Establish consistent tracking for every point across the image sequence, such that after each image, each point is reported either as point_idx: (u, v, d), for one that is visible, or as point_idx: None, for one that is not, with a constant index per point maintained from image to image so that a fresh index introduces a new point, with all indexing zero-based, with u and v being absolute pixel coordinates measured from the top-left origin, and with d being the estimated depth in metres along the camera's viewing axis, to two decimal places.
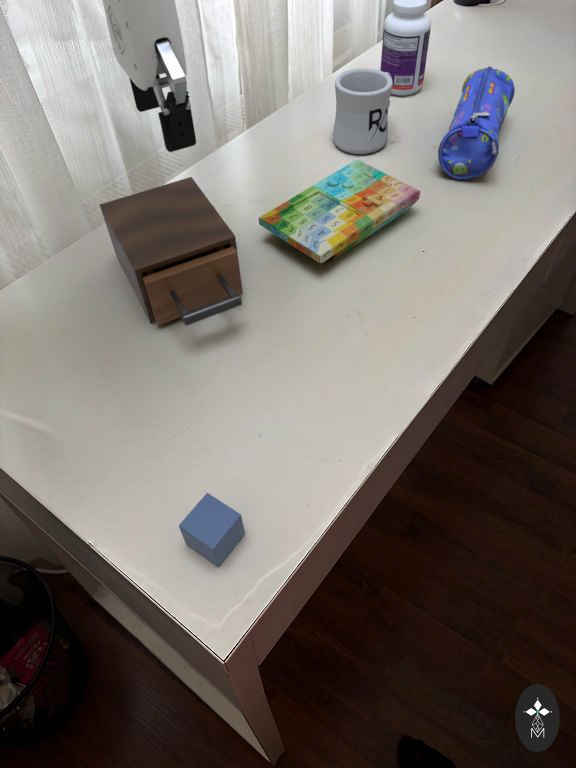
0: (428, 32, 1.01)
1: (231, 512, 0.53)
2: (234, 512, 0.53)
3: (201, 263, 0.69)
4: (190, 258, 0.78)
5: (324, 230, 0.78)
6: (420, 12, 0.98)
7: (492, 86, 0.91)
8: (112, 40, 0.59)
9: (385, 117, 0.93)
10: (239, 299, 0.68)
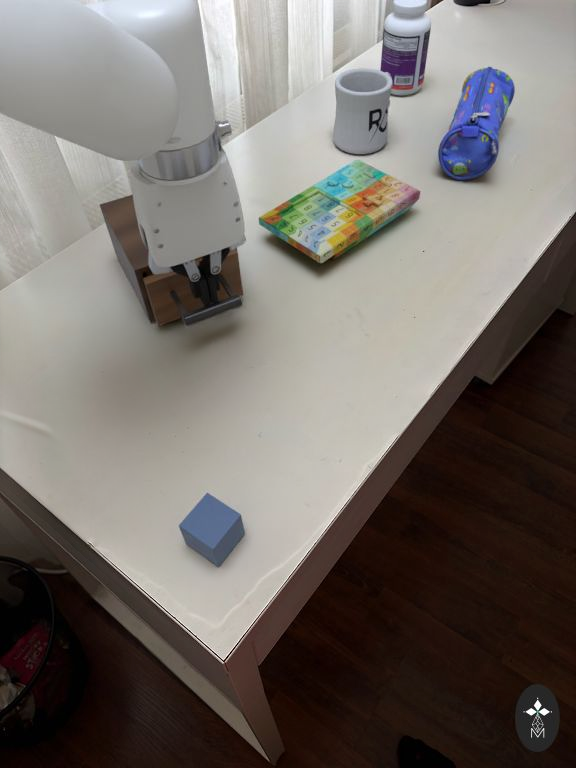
0: (428, 32, 1.01)
1: (231, 512, 0.53)
2: (234, 512, 0.53)
3: None
4: None
5: (324, 230, 0.78)
6: (420, 12, 0.98)
7: (492, 86, 0.91)
8: None
9: (385, 117, 0.93)
10: (240, 300, 0.67)
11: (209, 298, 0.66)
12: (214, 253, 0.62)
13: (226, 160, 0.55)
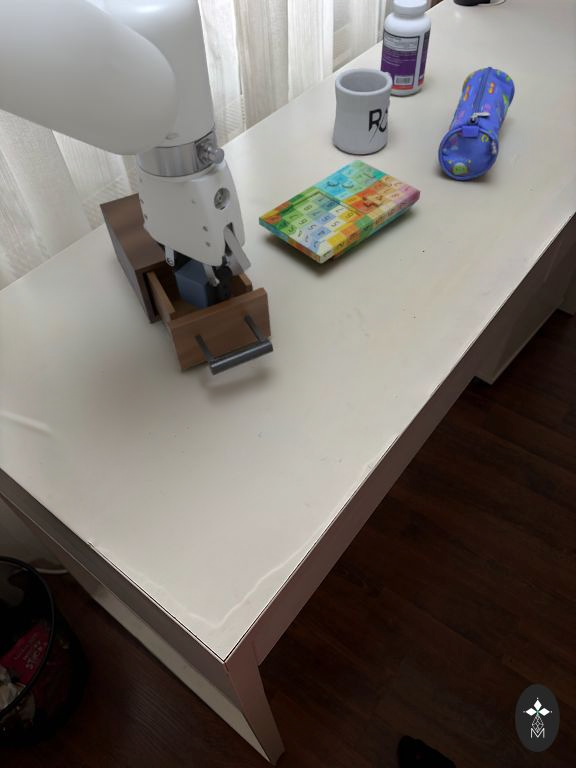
0: (428, 32, 1.01)
1: None
2: None
3: (229, 306, 0.64)
4: None
5: (324, 230, 0.78)
6: (420, 12, 0.98)
7: (492, 86, 0.91)
8: None
9: (385, 117, 0.93)
10: (270, 346, 0.63)
11: None
12: (205, 264, 0.61)
13: (199, 182, 0.52)
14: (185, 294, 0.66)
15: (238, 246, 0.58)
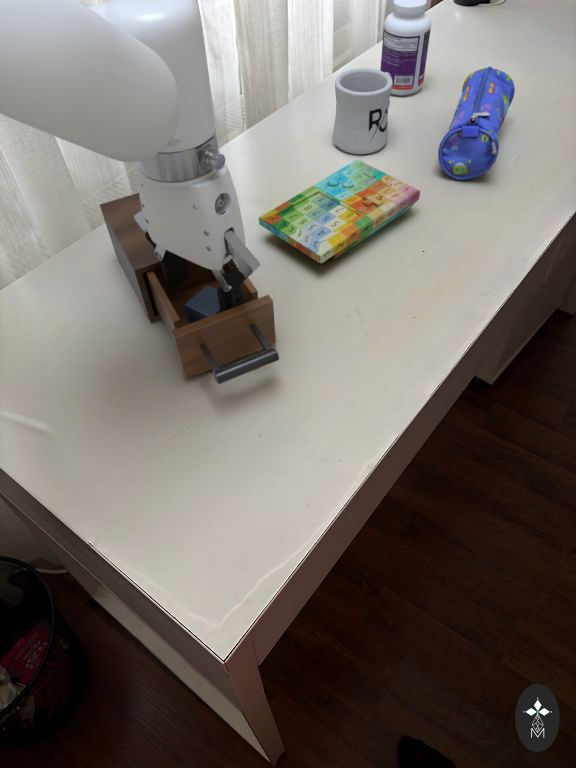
0: (428, 32, 1.01)
1: None
2: None
3: (234, 314, 0.63)
4: None
5: (324, 230, 0.78)
6: (420, 12, 0.98)
7: (492, 86, 0.91)
8: None
9: (385, 117, 0.93)
10: (276, 354, 0.62)
11: (170, 283, 0.67)
12: None
13: (200, 187, 0.52)
14: None
15: (243, 246, 0.58)
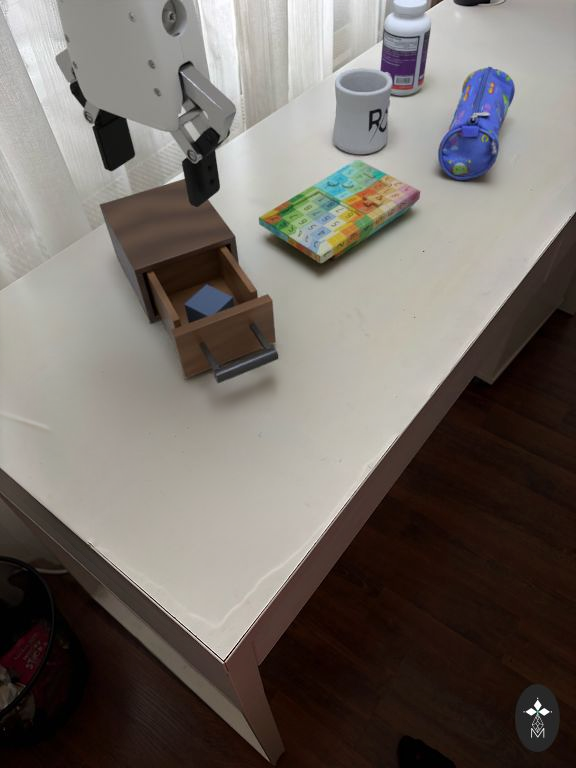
0: (428, 32, 1.01)
1: (225, 295, 0.67)
2: (227, 295, 0.67)
3: (234, 314, 0.63)
4: None
5: (324, 230, 0.78)
6: (420, 12, 0.98)
7: (492, 86, 0.91)
8: None
9: (385, 117, 0.93)
10: (276, 354, 0.62)
11: (108, 160, 0.50)
12: None
13: None
14: None
15: (208, 83, 0.40)
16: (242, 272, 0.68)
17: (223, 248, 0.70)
